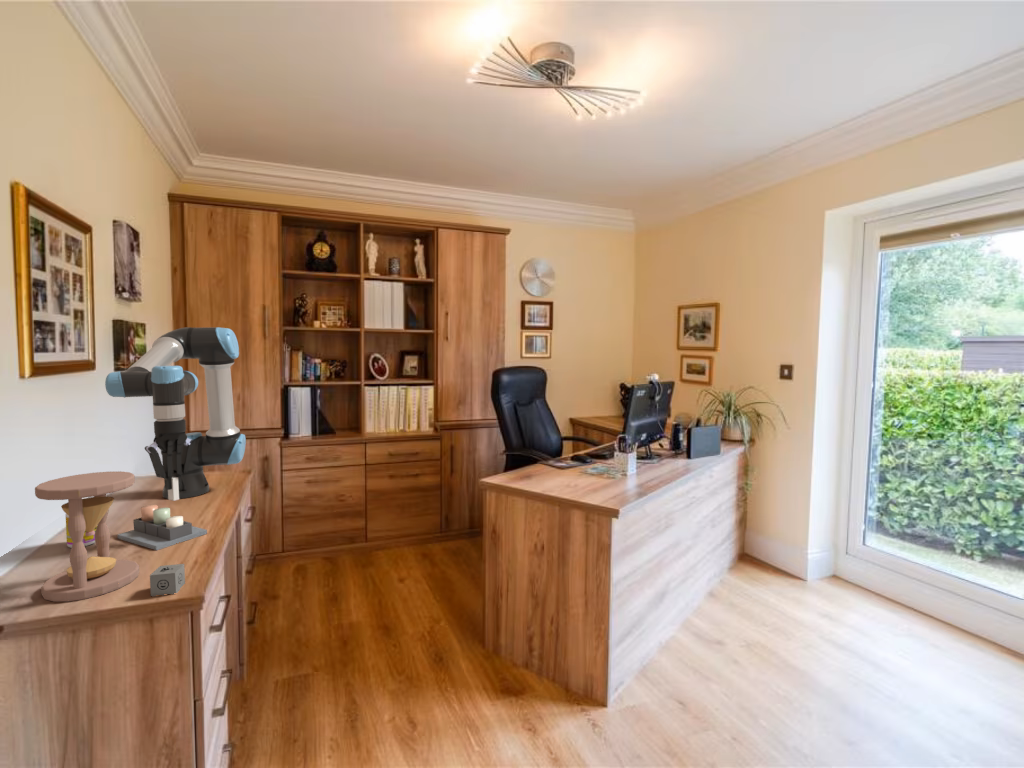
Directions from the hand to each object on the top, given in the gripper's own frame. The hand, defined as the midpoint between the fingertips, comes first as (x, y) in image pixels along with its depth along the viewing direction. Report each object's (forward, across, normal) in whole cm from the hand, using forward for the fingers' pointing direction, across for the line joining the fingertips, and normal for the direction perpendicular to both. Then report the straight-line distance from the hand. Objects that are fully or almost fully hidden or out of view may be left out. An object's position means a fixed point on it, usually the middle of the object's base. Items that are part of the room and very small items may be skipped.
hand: (173, 499), depth 143 cm
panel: (+12, 0, -6) cm, 14 cm away
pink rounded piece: (+9, 0, -13) cm, 15 cm away
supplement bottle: (+12, +14, -20) cm, 27 cm away
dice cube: (+12, +19, +31) cm, 39 cm away
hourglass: (+12, +25, +12) cm, 30 cm away
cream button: (+10, 0, 0) cm, 10 cm away
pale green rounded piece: (+9, 0, -6) cm, 11 cm away
